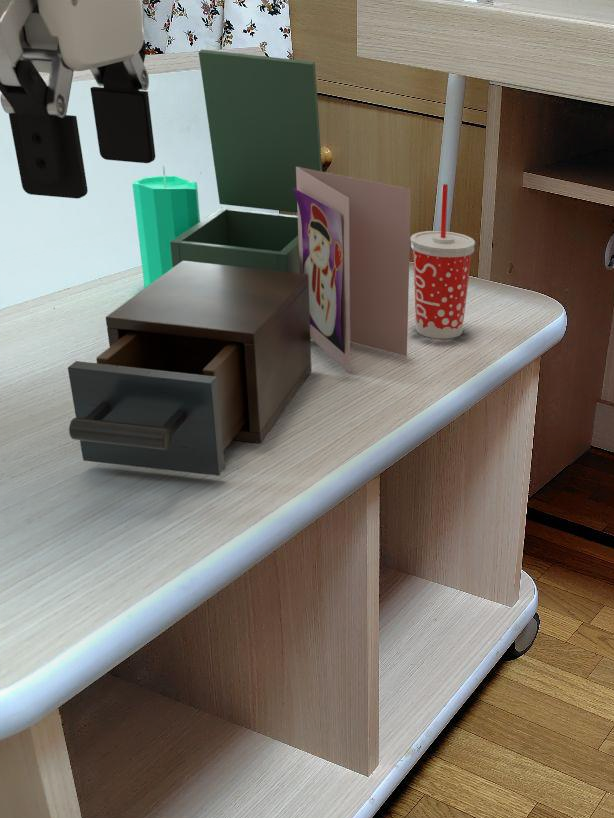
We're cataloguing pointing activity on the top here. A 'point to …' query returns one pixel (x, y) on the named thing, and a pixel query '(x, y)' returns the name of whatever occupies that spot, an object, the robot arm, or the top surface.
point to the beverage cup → (441, 278)
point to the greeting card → (354, 261)
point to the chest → (241, 241)
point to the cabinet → (233, 326)
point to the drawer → (160, 402)
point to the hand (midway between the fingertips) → (95, 176)
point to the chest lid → (260, 126)
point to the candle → (162, 219)
